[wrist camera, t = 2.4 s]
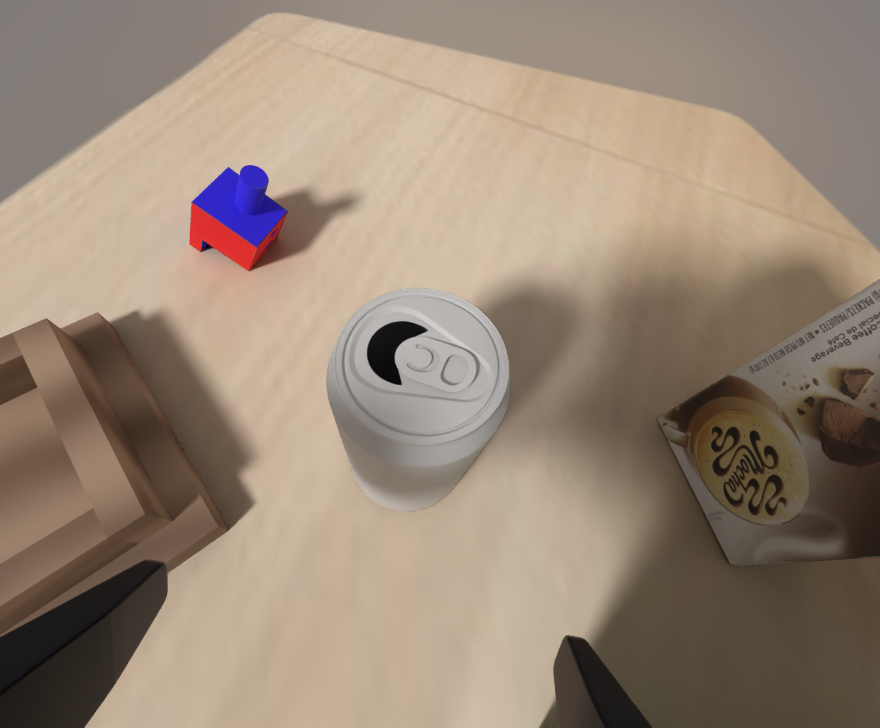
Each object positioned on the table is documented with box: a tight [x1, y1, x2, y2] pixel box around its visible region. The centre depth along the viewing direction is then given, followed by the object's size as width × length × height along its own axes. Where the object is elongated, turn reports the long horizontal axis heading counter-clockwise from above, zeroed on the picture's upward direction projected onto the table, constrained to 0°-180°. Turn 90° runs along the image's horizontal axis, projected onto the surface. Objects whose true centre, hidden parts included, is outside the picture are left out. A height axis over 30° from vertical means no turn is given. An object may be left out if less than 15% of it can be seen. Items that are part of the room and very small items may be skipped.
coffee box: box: [658, 279, 880, 566], centre depth 18 cm, size 9×6×16 cm
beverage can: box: [327, 288, 510, 512], centre depth 18 cm, size 6×6×12 cm
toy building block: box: [189, 165, 288, 271], centre depth 27 cm, size 4×4×8 cm
